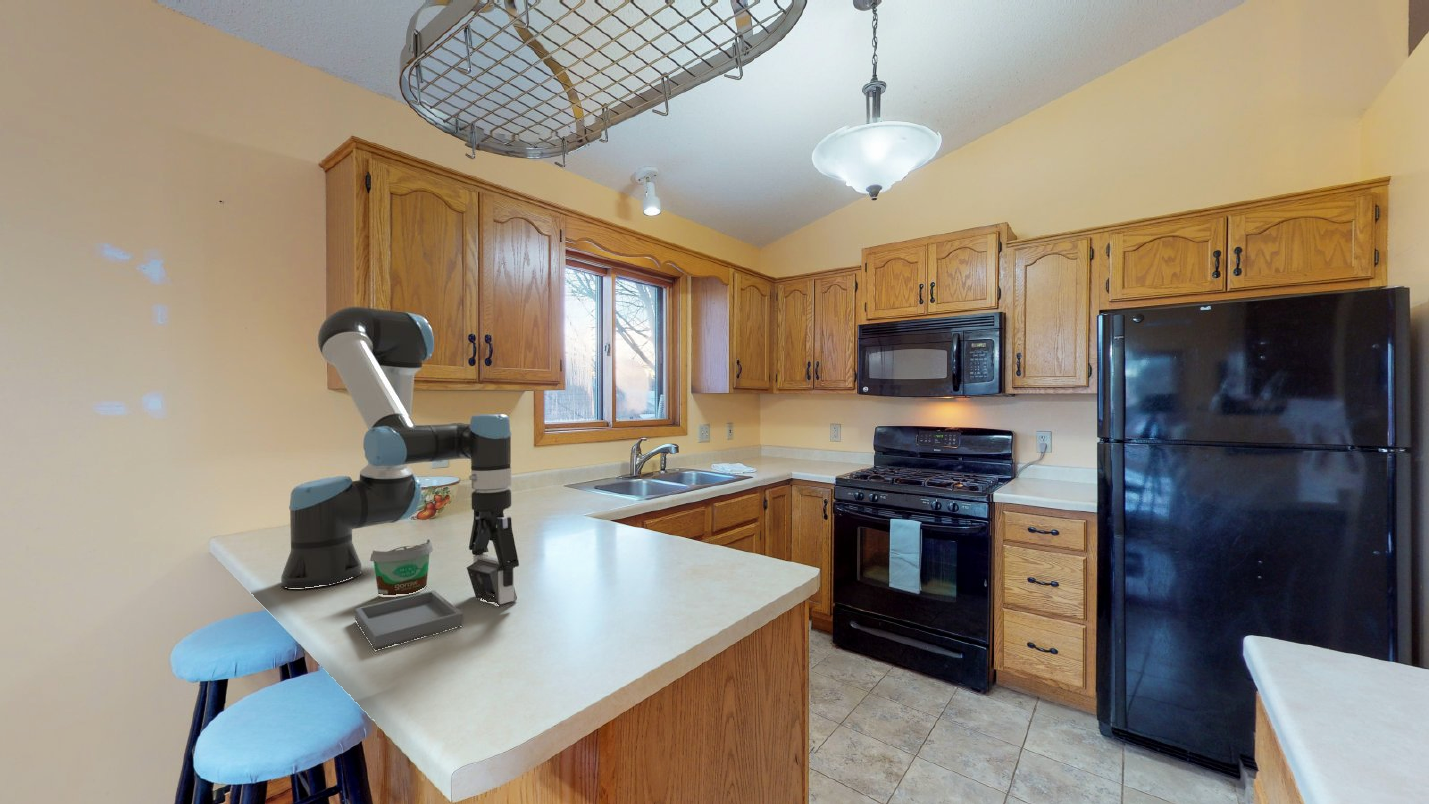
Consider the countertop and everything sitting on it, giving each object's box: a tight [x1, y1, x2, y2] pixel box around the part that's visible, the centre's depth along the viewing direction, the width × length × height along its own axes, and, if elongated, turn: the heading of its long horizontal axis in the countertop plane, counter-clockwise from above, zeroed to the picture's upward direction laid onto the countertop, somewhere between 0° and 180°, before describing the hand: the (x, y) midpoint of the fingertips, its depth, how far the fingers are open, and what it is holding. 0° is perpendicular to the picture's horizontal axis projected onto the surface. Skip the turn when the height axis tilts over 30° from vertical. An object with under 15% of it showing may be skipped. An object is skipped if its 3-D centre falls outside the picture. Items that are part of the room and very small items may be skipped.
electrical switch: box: [466, 555, 518, 608], centre depth 108 cm, size 9×5×9 cm, turn 57°
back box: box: [354, 589, 463, 650], centre depth 98 cm, size 17×14×2 cm
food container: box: [369, 538, 434, 595], centre depth 115 cm, size 12×6×10 cm, turn 143°
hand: (493, 593), depth 108 cm, fingers open, 13 cm apart
